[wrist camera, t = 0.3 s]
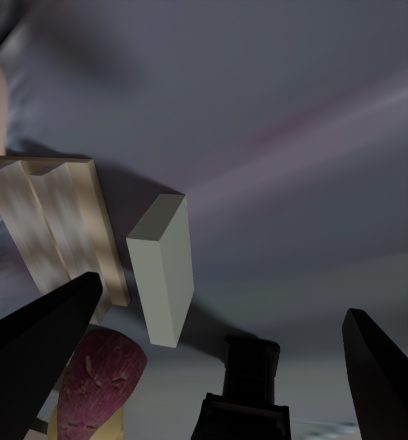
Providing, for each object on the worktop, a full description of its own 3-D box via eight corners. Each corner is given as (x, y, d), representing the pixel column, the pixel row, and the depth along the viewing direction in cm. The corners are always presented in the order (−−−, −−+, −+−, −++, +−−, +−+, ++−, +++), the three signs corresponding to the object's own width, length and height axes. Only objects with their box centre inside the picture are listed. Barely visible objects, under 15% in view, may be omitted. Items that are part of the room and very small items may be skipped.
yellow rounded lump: (105, 411, 55) (72, 482, 46) (61, 378, 50) (15, 449, 42) (145, 407, 49) (117, 486, 40) (99, 370, 45) (57, 448, 36)
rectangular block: (194, 290, 30) (175, 348, 24) (173, 287, 31) (151, 343, 25) (186, 194, 24) (158, 241, 18) (160, 193, 24) (125, 238, 19)
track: (130, 300, 33) (115, 328, 30) (60, 289, 35) (38, 314, 32) (93, 159, 24) (64, 177, 21) (-1, 155, 26) (-41, 171, 22)
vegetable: (145, 356, 46) (111, 476, 36) (84, 340, 45) (32, 460, 35) (155, 340, 38) (115, 488, 28) (82, 320, 37) (14, 468, 27)
